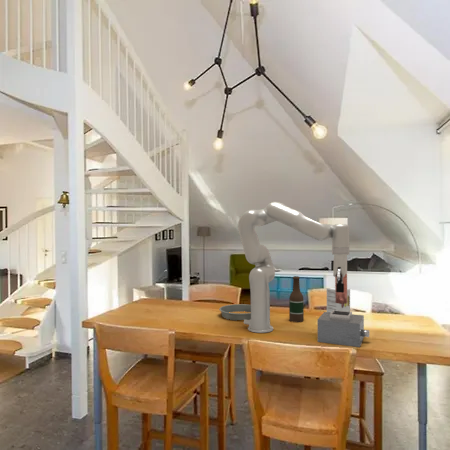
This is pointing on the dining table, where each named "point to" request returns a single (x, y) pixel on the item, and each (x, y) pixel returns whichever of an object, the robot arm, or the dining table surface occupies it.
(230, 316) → the cake pan
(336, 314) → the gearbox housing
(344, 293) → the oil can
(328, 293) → the supplement box
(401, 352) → the dining table surface
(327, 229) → the robot arm
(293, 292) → the beer bottle
